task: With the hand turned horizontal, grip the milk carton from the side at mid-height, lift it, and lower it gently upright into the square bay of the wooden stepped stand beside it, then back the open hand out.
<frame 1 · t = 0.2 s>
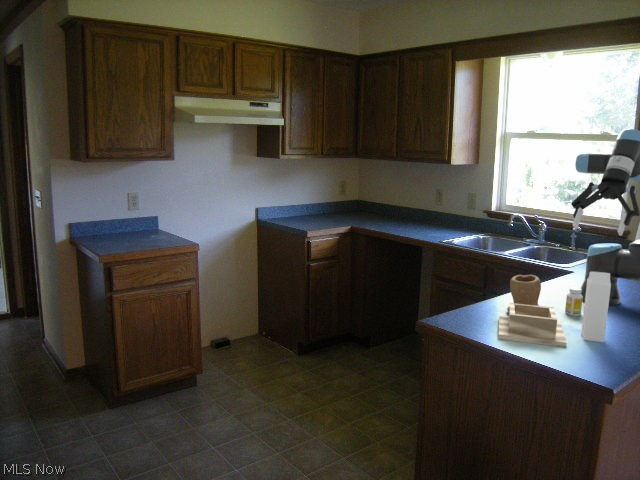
hand: (596, 230, 171), 35 cm above the worktop, tool tilted 35°, fingers open, 13 cm apart
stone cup: (527, 316, 198), on the worktop
milk: (592, 338, 176), on the worktop
supplement bottle: (572, 314, 201), on the worktop
wooden stepped stand: (530, 332, 180), on the worktop
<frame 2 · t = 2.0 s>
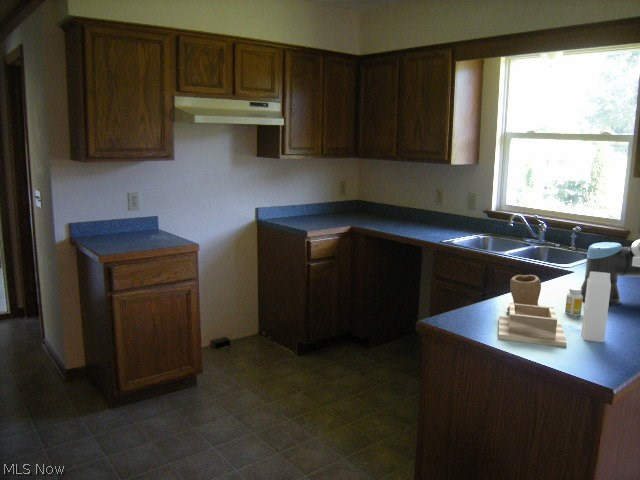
hand: (636, 257, 165), 28 cm above the worktop, tool horizontal, fingers open, 13 cm apart
nothing on the worktop moved.
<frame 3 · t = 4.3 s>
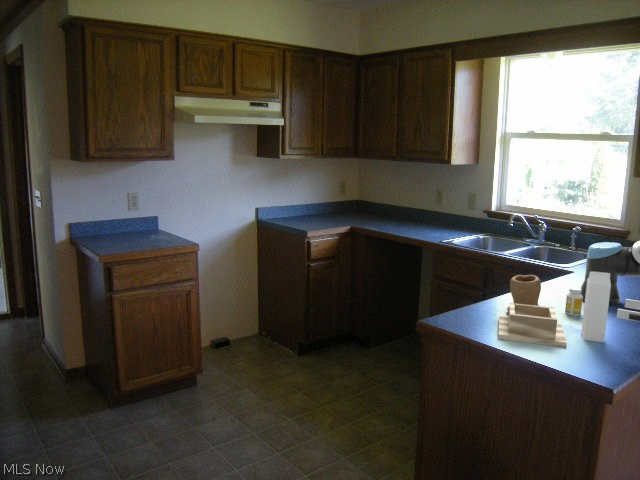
hand: (621, 307, 169), 12 cm above the worktop, tool horizontal, fingers open, 13 cm apart
nothing on the worktop moved.
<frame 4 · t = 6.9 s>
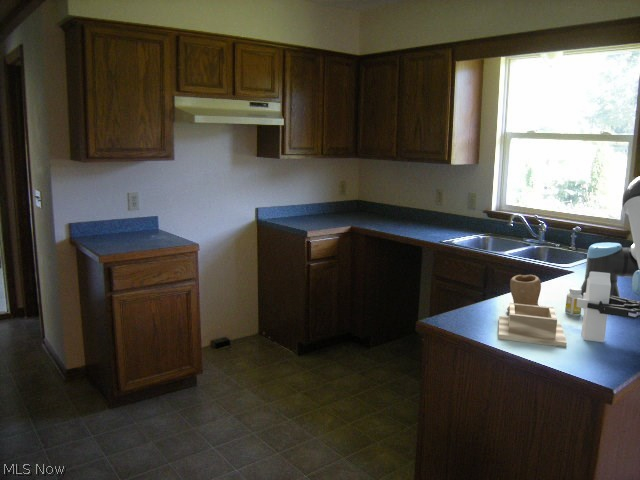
hand: (580, 299, 177), 12 cm above the worktop, tool horizontal, fingers closed on milk, 7 cm apart
milk: (592, 338, 176), on the worktop, touching gripper
everything else where it was.
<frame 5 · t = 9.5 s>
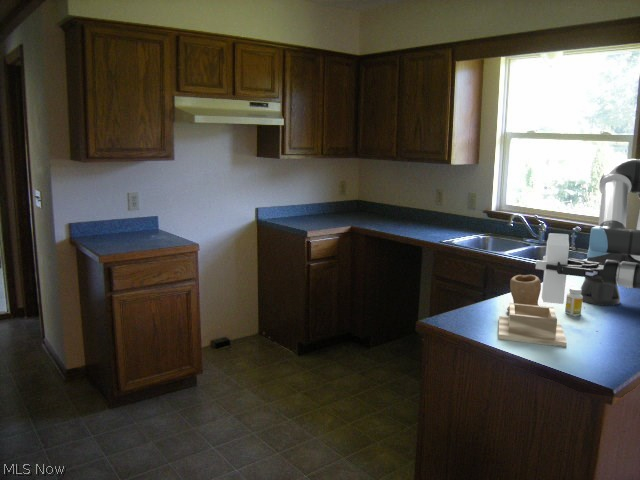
hand: (539, 262, 176), 24 cm above the worktop, tool horizontal, fingers closed on milk, 7 cm apart
milk: (552, 301, 175), point 12 cm above the worktop, touching gripper
everything else where it was.
when the fingers open (15 cm above the worktop, at t = 12.4 s): milk drops 1 cm, resting on wooden stepped stand.
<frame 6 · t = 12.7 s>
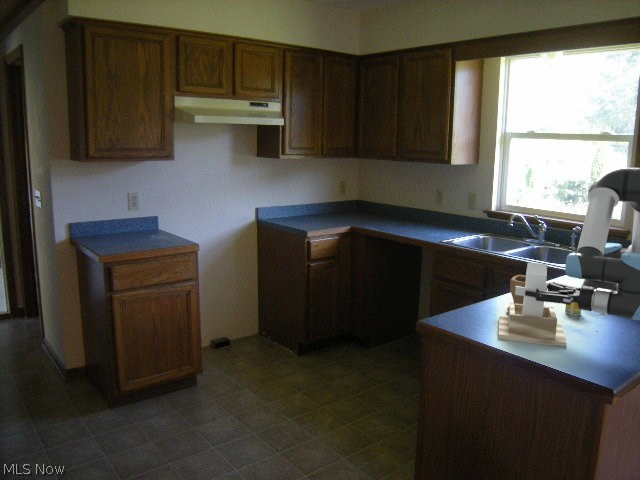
hand: (521, 286, 180), 15 cm above the worktop, tool horizontal, fingers open, 10 cm apart
milk: (530, 328, 180), point 1 cm above the worktop, touching wooden stepped stand
everything else where it was.
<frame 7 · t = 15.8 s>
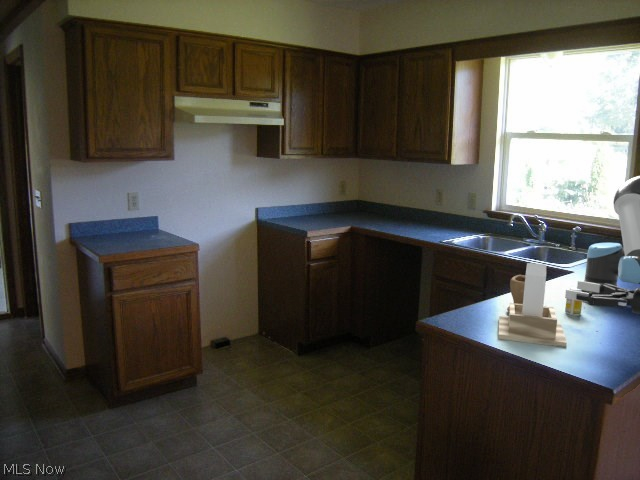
hand: (571, 289, 171), 17 cm above the worktop, tool horizontal, fingers open, 13 cm apart
nothing on the worktop moved.
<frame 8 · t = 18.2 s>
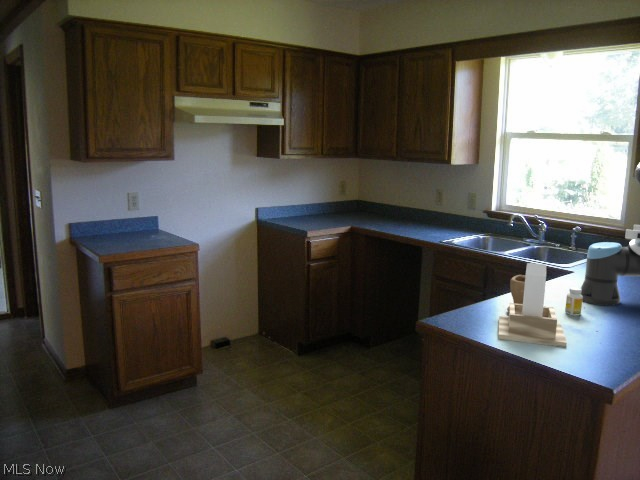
hand: (629, 231, 172), 35 cm above the worktop, tool horizontal, fingers open, 13 cm apart
nothing on the worktop moved.
at the end: milk 0.1 cm off-centre on the wooden stepped stand, point 1.3 cm above the wooden stepped stand's base; milk tilted 0°; the gripper is holding nothing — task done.
